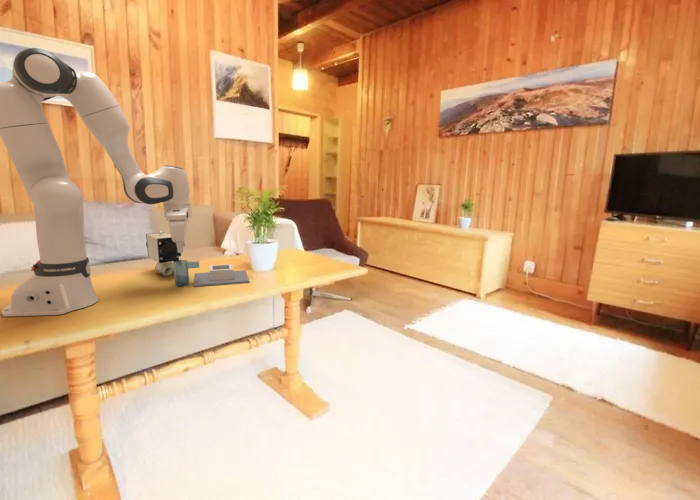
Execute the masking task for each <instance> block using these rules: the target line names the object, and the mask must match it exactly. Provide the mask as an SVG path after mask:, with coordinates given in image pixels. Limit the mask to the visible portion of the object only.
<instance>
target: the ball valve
mask: <svg viewBox="0 0 700 500" xmlns="http://www.w3.org/2000/svg"><path fill="white" fill-rule="evenodd" d="M145 235H146V236H145V237H146V243H145V246H146V248H147V257H148V258H150V259H151V260H152V261H156V264H155V265H154V266H155V267H154V270H155V271H156V272H157V273H159V274H161V275H162V276H164V277H168V276H170V275H172V274H174V261H177V260H180V258H179V257H181V256H182V253H178V250H177V245H176V242H173V241H172V237H171V233H168V232H164V231H163V230H160V231H159V232H154V233H146V234H145Z"/></svg>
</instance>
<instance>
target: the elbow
mask: <svg viewBox="0 0 700 500" xmlns="http://www.w3.org/2000/svg"><path fill="white" fill-rule="evenodd" d="M173 263H174V273H173V274H174V286H175V287H178V288H182V287H187V286H189V285H190V274H189V269H199V268H200V260H196V261H195V260H194V261H189V260H187V259H179V260H177V261H173Z"/></svg>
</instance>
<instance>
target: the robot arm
mask: <svg viewBox="0 0 700 500" xmlns="http://www.w3.org/2000/svg"><path fill="white" fill-rule="evenodd" d="M58 96H59V97H62V98H63V99H65V100H67V102H69V103H70V104H71V105H72V106H73V108H74V109H75V110H76V112H77V114H78V115H79V117H80V118H81V120H82V122H83V123H84V125H85V127H86V128H87V129H88V130H89V132H90V133H91V134H92V135H93V136H94V138H95V139H96V140H97V141H98V142H99V144H100V145H101V146H102V148H104V150H105V151H106V153H107V155H108V156H109V157H110V159H111V161H112V163H113V164H114V166H115V167H116V169H117V172H118V173H119V175H120V176H121V179H122V186H123V190H124V191H123V192H124V194H125V195H126V197H127V199H129V200H130V201H132V202H133V203H137V204H144V205H150V206H151V205H157V204H160V203H162V205H163V213H164V218H165V219H166V221H168V227H169V232H170V233H169V234H170V235H171V237H172V241H173V242H176V245H177V250H178V253H181V254H183V253H184V248H185V245H186V236H187V233H188V228H187V227H188V226H187V222H189V218H191V217H193V215H192V204H191V200H190V182H189V177H188V173H187V171H186V170H185V169H184V168H182V167H179V166H176V165H162V166H161V167H160V168H158V169H157V170H155V171H152V172H150V173H148V174H145V173H144V172H143V171H142V170H141V168H140V166H139V165H138V163H137V161H136V159H135V157H134V156H133V154H132V152H131V150H130V148H129V143H128V137H129V133H130V126H129V123H128V120H127V117H126V115H125V113H124V112H123V110H122V107H121V106H120V104H119V103H118V101H117V99H116V97H115V96H114V94H113V93H112V92H111V91H110V89H109V88H108V86H107V85H106V84H105V83H104V81H103V80H102V79H101V78H100V77H99V76H98V75H97V74H96V73H93V72H91V71H87V70H79V71H75V68H72V67H71V66H70V65H68V64H67V63H66V62H64V61H63V60H62V59H60V58H59V57H57V56H56V55H55V54H53V53H52V52H49V51H47V50H45V49H42V48H36V47H31V48H26V49H23V50H21V51H19V52H18V53H17V54H16V55H15V58H14V59H13V63H12V78H11V79H10V80H7V81H5V80H4V81H0V138H1V140H2V142H3V144H4V147H5V149H6V150H7V152H8V155H9V156H10V159H11V160H12V161H11V162H13V165H14V168H15V170H16V172H17V175H18V177H19V178H20V181H21V183H22V185H23V188H24V190H25V191H26V194H27V196H28V197H29V200H30V202H31V203H32V205H33V212H34V219H35V220H34V221H35V231H36V240H37V241H36V242H37V247H38V254H39V260H37V261H36V262H35V263H34V264H33V265H32V266H31V267H30V268H31V270H30V271H31V272H33V273H34V274H33V275H31V277H30V278H28V279H27V280H25V281H24V282H23V283H21V284H19V286H17V287H16V288H15V289H14V290H13V292H12V294H11V300H10V303H9V304H8V305H6V306H5V307H4V308H3V309H2V310H1V315H2V317H31V316H37V317H38V316H60V315H65V314H67V313H70V312H72V311H75V310H79V309H83V308H86V307H87V308H88V307H90V306H92V305H94V304H96V303H97V302H98V301H99V297H98V295H97V294H96V292H95V289H94V286H93V283H92V279H91V270H92V269H91V264H90V260H89V257H87V255H88V254H87V249H86V248H87V247H86V241H85V239H86V238H85V222H84V221H85V220H84V219H85V214H84V212H85V211H84V198H83V197H84V196H83V193H82V190H81V189H80V188H79V185H77V184H76V183H75V182H73V181H71V178H70V176H69V173H68V170H67V167H66V164H65V162H64V158H63V155H62V151H61V149H60V146H59V144H58V141H57V139H56V137H55V134H54V133H53V130H52V128H51V126H50V123H49V121H48V119H47V117H46V115H45V112H44V108H43V102H45V101H48V100H51V99H54V98H55V97H58Z"/></svg>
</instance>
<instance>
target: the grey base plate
mask: <svg viewBox="0 0 700 500" xmlns="http://www.w3.org/2000/svg"><path fill="white" fill-rule="evenodd" d="M208 267H209V268H208V269H209V270H208V271H209V272H198V273H197V272H196V273H194V277H193V285H192V286H193V288H196V287H197V288H199V287H200V288H201V287H210V286H211V287H212V286H213V287H214V286H226V285H236V284H237V285H239V284H250V278H249V276H248V274H247V271H246V269H242V270H234V267H233V264H232V263H227V264H226V263H225V264H209V266H208Z"/></svg>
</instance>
